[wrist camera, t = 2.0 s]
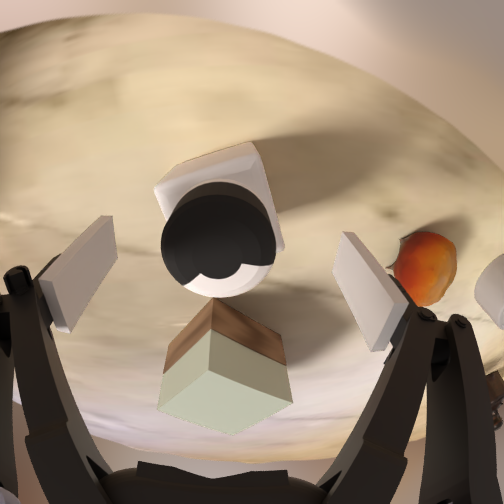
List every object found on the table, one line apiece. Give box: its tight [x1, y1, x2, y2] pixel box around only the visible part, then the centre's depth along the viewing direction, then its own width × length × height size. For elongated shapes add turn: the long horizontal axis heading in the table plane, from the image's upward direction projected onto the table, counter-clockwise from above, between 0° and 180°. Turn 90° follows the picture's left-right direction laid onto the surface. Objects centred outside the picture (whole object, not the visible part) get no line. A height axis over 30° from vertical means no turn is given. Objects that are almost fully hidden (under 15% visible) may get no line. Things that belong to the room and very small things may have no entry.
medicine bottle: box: [154, 142, 285, 297], centre depth 19 cm, size 7×7×12 cm
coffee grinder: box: [486, 371, 504, 431], centre depth 46 cm, size 16×11×18 cm
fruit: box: [386, 232, 457, 307], centre depth 26 cm, size 8×8×8 cm
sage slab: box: [157, 329, 293, 435], centre depth 27 cm, size 10×10×5 cm
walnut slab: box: [163, 297, 286, 374], centre depth 31 cm, size 10×10×5 cm
